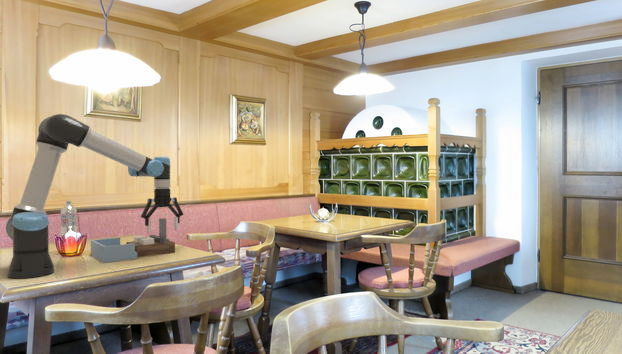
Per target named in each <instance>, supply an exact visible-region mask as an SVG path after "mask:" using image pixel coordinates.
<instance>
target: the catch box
mask: <svg viewBox="0 0 622 354" xmlns="http://www.w3.org/2000/svg"><path fill="white" fill-rule="evenodd" d="M90 255H91V256H92V257H93V258H95V259H97V260H99V261H100V262H101V263H103V264H107V263H116V262H121V261H124V262H125V261H131V260H137V259H138V257H137V252H136V251H135V243H133V244H126V243H124V244H121V237H111V238H100V239H97V238H96V239H90Z"/></svg>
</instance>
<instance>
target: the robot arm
mask: <svg viewBox="0 0 622 354" xmlns="http://www.w3.org/2000/svg"><path fill="white" fill-rule="evenodd" d="M35 144H36V146H37V148H38V149H37V152H36V154H35V157H34V161H33V164H32V167H31V170H30V173H29V175H28V179H27V182H26V183H25V187H24V189H23V190H24V191H23V194H22V197H21V200H20V203H19V204H17V205H15V206H14V207H13V209H12V213H11V216H10V217H9V218H8V221H7V222H6V225H5V232H6V234H7V236H8V238H10V239H11V240H12V258H11V261H10V264H9V265H8V269H7V277H8V278H10V279H30V278H39V277H43V276H49V275H50V274H53V273H55V265H54V263H53V262H54V261H53V260H52V258H51V255H50V251H49V248H50V247H49V242H50V241H49V224H50V223H49V222H50V221H49V216H48V214H47V211H46V210H45V206H46V202H47V199H48V196H49V193H50V189H51V187H52V183H53V181H54V177H55V174H56V171H57V167H58V165H59V162H60V159H61V156H62V154H63V153H66V152H67V150H68V147H69V145H73V146H75V147H78V148H80V147H82V148H85V149H88V150H89V151H92V152H94V153H96V154H99V155H101V156H104V157H106V158H107V159H110V160H113V161H115V162H117V163H120V164H122V165H124V166H126V167H127V171H128V175H129V176H130V177H136V178H137V177H145V178H146V177H150V178H151V177H152V178H153V179H154V180H153V183H154V184H153V187H154V191H153V194H154V195H153V197H154V198H147V200H146V201H147V203H146V205H145V207H144V208H143V211H142V213H141V215H140V218H141V219H144V226H145V227H146V233H148V234H150V233H151V218H150V217H152V215H153V214H154V212H155V211H156V210H157V209H158V208H168V209H169V211H171V212H172V214H173V215H174V221H173V222H174V224H173V225H174V228H173V229H174V231H179V224H180V217H181V216H184V212H183V211H182V209H181V207H180V205H179V202H178V199H177V197H171V189H170V188H171V159H170V158H169V157H168V156H155V157H154V158H153V159H152V158H150V157H149V156H146V155H144V154H142V153H140V152H138V151H135V150H133V149H131V148H129V147H127V146H125V145H124V144H121V143H119V142H117V141H114V140H113V139H111V138H109V137H107V136H105V135H103V134H101V133H98V132H97V131H94V130H92V129H91V126H90V125H88V124H85V123H83V122H81V121H80V120H77V119H76V118H73V117H72V116H70V115H67V114H63V113H57V114H53V115H52V116H48V117H46V118H45V119H43V120H42V121H41V122H40V123H39V126H38V135H37V138H36V141H35ZM171 202H172V203H173V205H174V206H175V208H174V207H173V205H172V204H171ZM152 203H154V205H152ZM151 206H152V207H151ZM151 234H152V233H151Z"/></svg>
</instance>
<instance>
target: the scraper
mask: <svg viewBox="0 0 622 354" xmlns="http://www.w3.org/2000/svg"><path fill="white" fill-rule="evenodd" d="M158 234H159V235H157V234H149V238H150V237H151V238H154V242H157V243H160V244H162V243H164V242H166V241H169V240H170V239H169V238H167V218H165V217H163V218H162V217H160V218H158Z"/></svg>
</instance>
